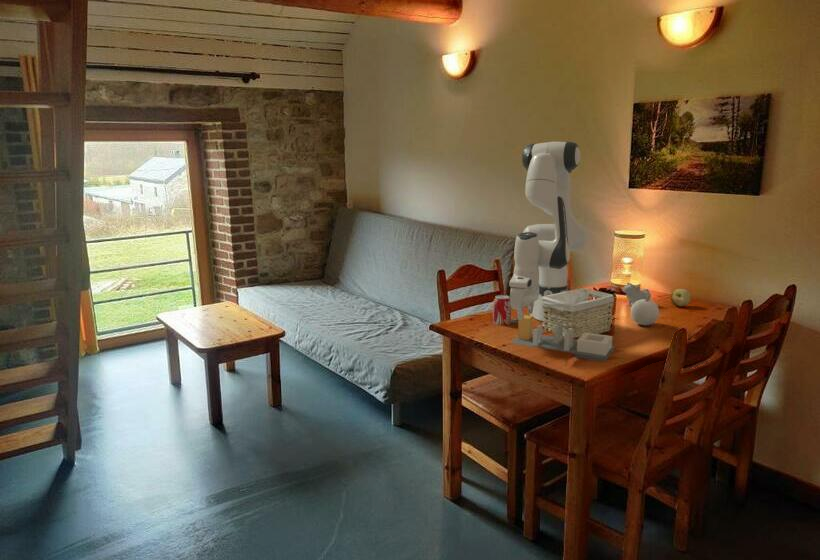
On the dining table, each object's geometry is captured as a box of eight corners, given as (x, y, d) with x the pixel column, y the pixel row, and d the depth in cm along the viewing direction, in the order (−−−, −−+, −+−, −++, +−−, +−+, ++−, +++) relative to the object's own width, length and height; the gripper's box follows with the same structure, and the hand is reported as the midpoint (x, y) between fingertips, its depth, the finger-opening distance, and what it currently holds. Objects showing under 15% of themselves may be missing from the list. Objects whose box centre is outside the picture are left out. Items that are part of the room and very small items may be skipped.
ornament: (660, 329, 232) (662, 299, 229) (632, 328, 234) (634, 298, 231) (655, 321, 242) (657, 292, 239) (628, 320, 244) (630, 291, 241)
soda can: (501, 329, 234) (502, 299, 232) (489, 325, 240) (489, 296, 237) (514, 326, 238) (515, 296, 236) (501, 322, 244) (502, 293, 241)
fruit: (666, 305, 265) (667, 288, 264) (679, 303, 269) (681, 286, 267) (680, 309, 259) (681, 291, 257) (694, 307, 262) (695, 289, 260)
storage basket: (570, 344, 216) (572, 304, 213) (538, 333, 230) (539, 295, 226) (614, 332, 229) (616, 294, 226) (581, 322, 242) (582, 286, 239)
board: (522, 336, 226) (523, 317, 224) (613, 349, 209) (614, 328, 208) (509, 347, 214) (509, 326, 212) (604, 362, 198) (605, 340, 196)
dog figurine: (618, 305, 267) (619, 281, 265) (646, 304, 269) (647, 280, 266) (623, 308, 262) (625, 284, 260) (651, 307, 263) (653, 283, 261)
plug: (513, 334, 223) (513, 313, 221) (532, 337, 219) (533, 316, 218) (509, 337, 220) (509, 316, 218) (528, 340, 216) (529, 318, 214)
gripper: (527, 273, 224) (526, 309, 227) (507, 282, 207) (506, 321, 209) (544, 274, 221) (542, 311, 224) (525, 284, 204) (524, 323, 206)
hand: (525, 316), depth 216 cm, fingers open, 8 cm apart
